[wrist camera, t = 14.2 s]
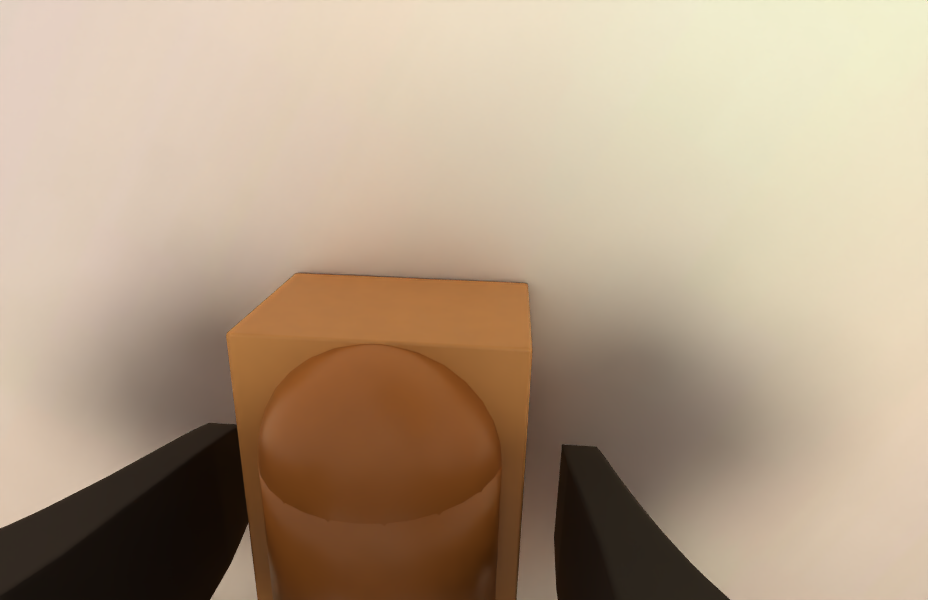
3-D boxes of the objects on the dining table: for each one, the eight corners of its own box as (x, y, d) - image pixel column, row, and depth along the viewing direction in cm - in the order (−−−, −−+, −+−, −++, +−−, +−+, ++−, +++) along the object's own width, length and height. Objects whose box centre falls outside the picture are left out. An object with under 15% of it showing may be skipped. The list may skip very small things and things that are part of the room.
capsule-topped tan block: (295, 272, 12) (168, 380, 7) (527, 282, 11) (535, 402, 7) (317, 565, 14) (230, 776, 10) (510, 580, 14) (508, 804, 9)
